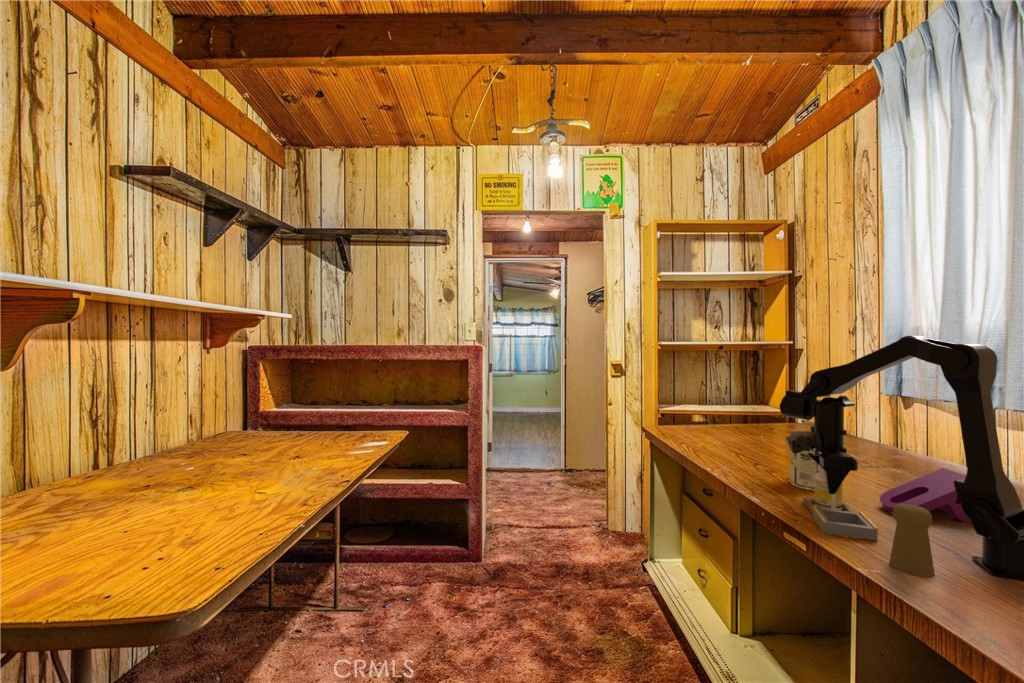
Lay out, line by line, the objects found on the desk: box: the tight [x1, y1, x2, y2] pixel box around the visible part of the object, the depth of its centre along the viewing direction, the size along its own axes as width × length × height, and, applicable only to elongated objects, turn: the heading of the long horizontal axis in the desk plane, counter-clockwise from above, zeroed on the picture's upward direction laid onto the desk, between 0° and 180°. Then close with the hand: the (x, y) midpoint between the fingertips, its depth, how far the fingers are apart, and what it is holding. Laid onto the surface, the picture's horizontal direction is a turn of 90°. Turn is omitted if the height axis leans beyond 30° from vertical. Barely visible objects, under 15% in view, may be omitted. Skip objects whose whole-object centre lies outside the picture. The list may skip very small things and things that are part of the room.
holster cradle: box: [802, 496, 855, 514], centre depth 106 cm, size 8×8×2 cm
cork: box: [888, 504, 936, 578], centre depth 79 cm, size 6×6×11 cm
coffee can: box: [789, 430, 819, 492], centre depth 123 cm, size 10×10×14 cm
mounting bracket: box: [879, 467, 973, 524], centre depth 104 cm, size 9×8×18 cm
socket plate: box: [812, 505, 879, 542], centre depth 95 cm, size 9×9×3 cm
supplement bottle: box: [813, 465, 843, 511], centre depth 106 cm, size 5×5×10 cm
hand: (828, 489), depth 106 cm, fingers closed on supplement bottle, 5 cm apart
